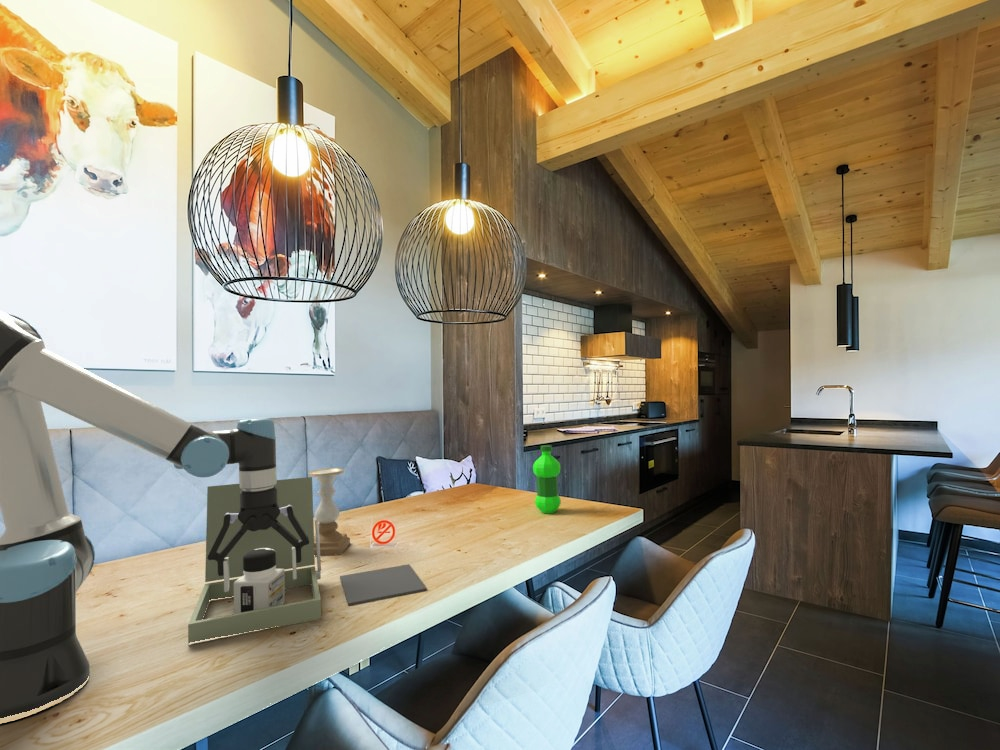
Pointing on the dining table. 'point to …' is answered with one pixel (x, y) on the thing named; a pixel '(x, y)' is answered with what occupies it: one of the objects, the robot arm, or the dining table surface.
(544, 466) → the plastic bottle
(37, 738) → the dining table surface
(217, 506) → the lid
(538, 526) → the dining table surface
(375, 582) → the mat
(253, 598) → the container
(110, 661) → the dining table surface
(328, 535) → the candle holder
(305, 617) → the case
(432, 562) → the dining table surface
